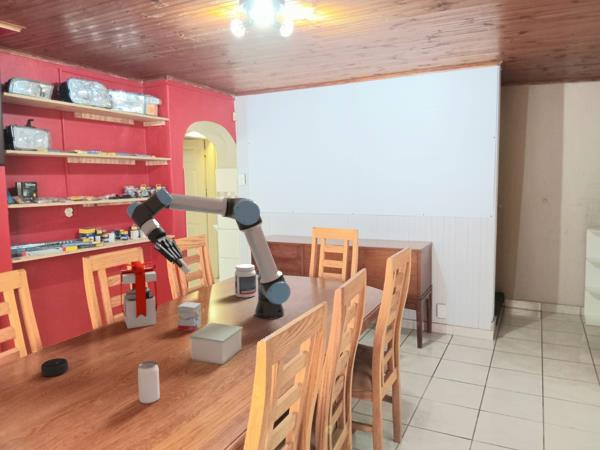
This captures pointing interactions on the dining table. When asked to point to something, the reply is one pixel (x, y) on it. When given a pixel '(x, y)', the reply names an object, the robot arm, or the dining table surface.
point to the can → (148, 382)
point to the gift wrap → (139, 295)
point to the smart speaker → (54, 367)
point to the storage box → (215, 349)
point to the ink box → (189, 316)
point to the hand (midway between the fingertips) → (188, 271)
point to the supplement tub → (245, 281)
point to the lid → (216, 332)
